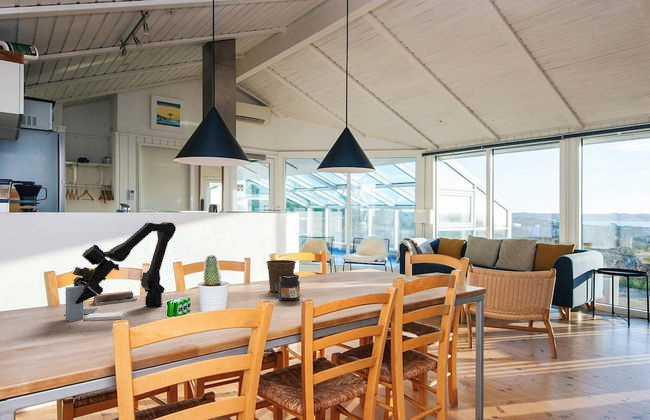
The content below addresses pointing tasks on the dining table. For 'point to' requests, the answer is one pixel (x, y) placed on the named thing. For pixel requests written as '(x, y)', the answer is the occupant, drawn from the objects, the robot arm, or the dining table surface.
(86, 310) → the coaster
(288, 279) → the supplement container
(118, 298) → the packaged product
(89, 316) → the strip
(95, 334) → the dining table surface
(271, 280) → the plant pot
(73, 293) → the stub
